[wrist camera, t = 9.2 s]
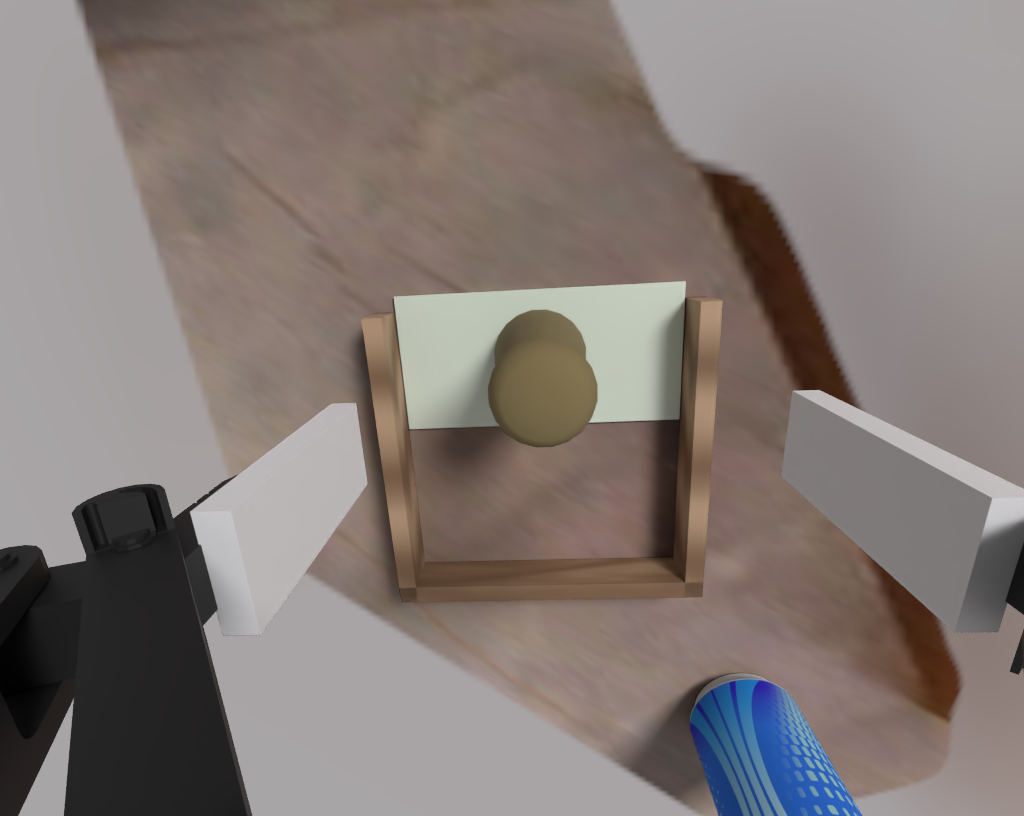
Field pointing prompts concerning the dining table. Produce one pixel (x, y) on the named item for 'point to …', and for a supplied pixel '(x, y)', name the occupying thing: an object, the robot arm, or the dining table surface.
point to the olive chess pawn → (542, 380)
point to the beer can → (763, 752)
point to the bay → (566, 574)
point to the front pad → (593, 309)
